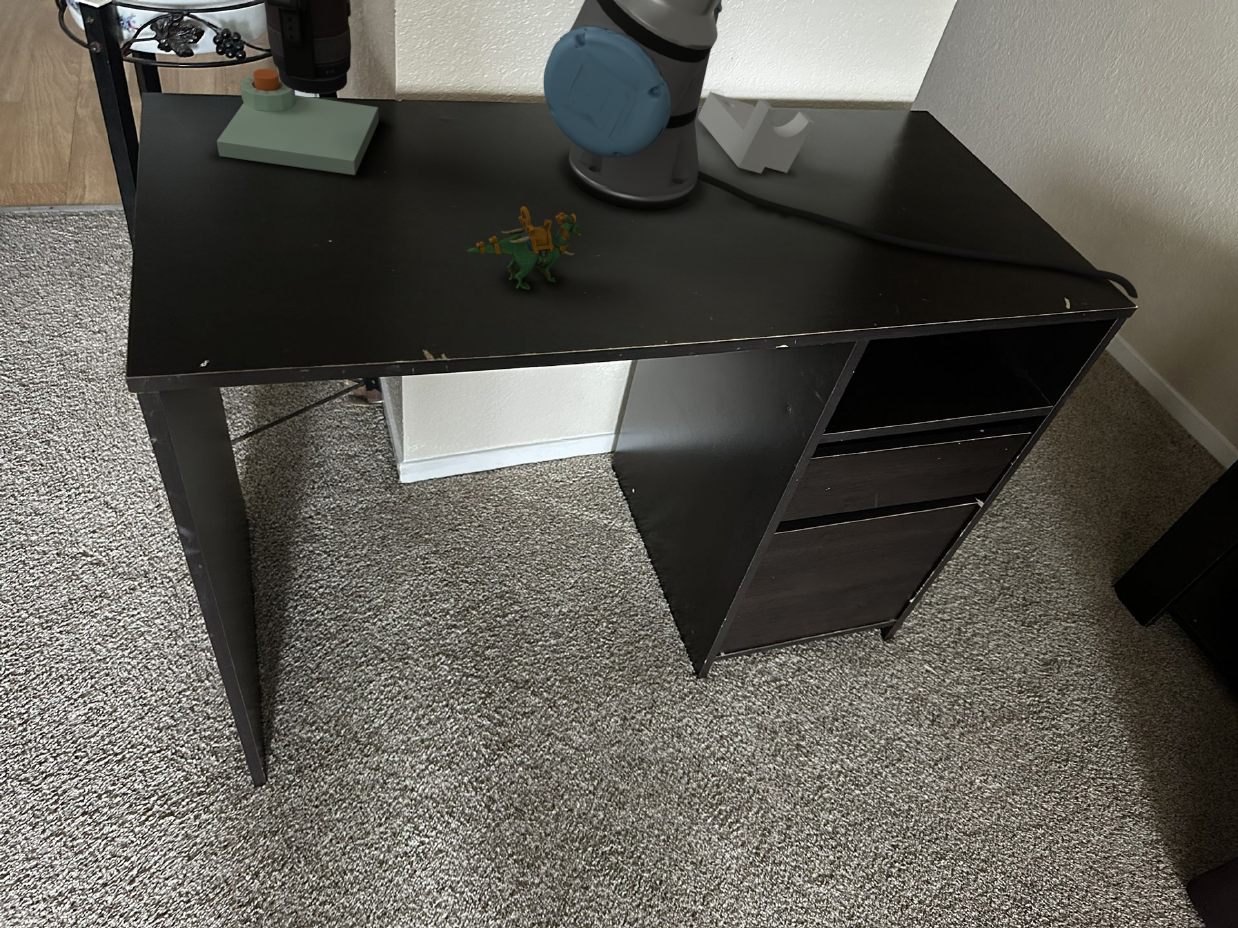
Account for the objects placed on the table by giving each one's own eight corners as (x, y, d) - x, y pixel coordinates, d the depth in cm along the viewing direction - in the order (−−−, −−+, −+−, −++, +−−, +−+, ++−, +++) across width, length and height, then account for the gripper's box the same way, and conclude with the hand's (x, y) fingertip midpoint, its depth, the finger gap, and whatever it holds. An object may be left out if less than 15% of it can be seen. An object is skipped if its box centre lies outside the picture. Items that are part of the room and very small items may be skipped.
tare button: (282, 84, 97) (281, 71, 96) (276, 94, 96) (274, 80, 94) (258, 81, 97) (256, 67, 96) (252, 91, 95) (250, 76, 94)
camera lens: (290, 57, 93) (272, -104, 82) (364, 73, 93) (356, -85, 82) (258, 87, 87) (234, -82, 76) (337, 104, 87) (324, -62, 77)
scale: (379, 119, 102) (378, 90, 99) (355, 175, 92) (353, 144, 90) (253, 101, 100) (249, 70, 98) (215, 156, 91) (209, 123, 88)
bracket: (783, 179, 109) (814, 123, 104) (738, 167, 105) (769, 108, 101) (740, 130, 117) (768, 76, 112) (697, 117, 113) (724, 61, 109)
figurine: (583, 279, 86) (594, 205, 80) (472, 304, 80) (475, 226, 74) (568, 262, 87) (577, 188, 81) (458, 285, 82) (460, 208, 76)
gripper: (273, -247, 79) (300, 16, 95) (196, -205, 65) (243, 96, 81) (357, -230, 80) (369, 27, 96) (299, -186, 65) (325, 108, 82)
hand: (311, 58), depth 88 cm, fingers closed on camera lens, 8 cm apart
